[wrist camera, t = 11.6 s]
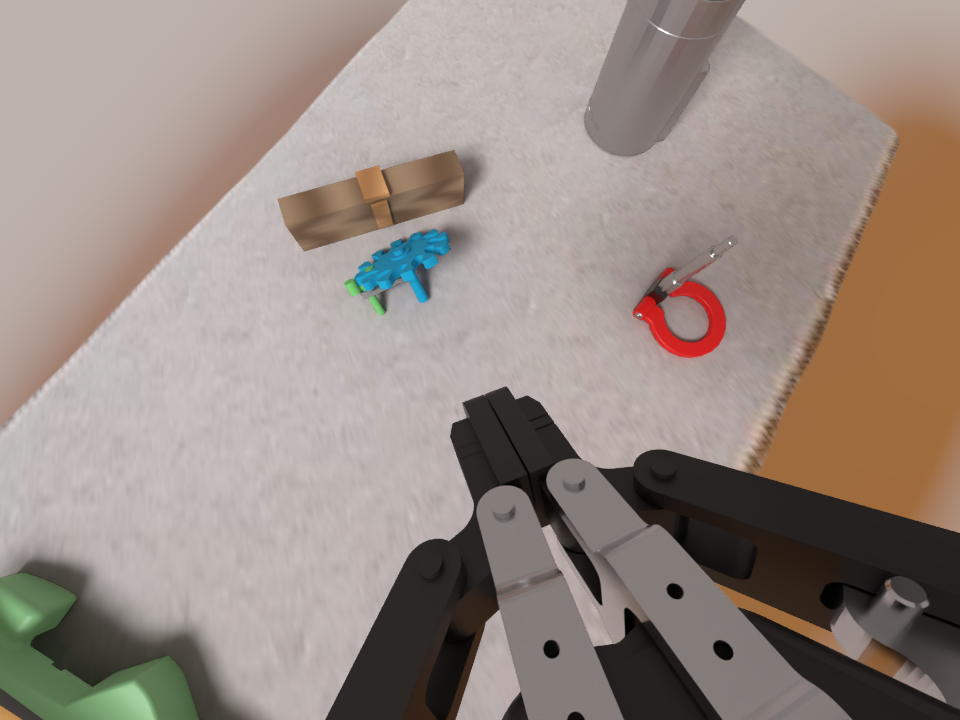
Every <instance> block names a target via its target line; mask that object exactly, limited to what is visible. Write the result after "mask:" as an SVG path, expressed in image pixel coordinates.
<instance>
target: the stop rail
mask: <svg viewBox="0 0 960 720" xmlns="http://www.w3.org/2000/svg"><path fill="white" fill-rule="evenodd" d="M355 174H356V176H357V177H355V178H351V179H348V180H344V181H341V182H337V183H333V184H330V185H326V186H323V187H319V188H315V189H312V190H308V191H305V192H301V193H298V194H294V195H290V196H287V197H283V198H280V199H278V202H279V206H280V209H281V212H282V215H283V219H284V222H285V225H286V227H287V228H288V230H289V231H290V232H291V234H292V235H293V236H294V238H295V239H296V241H297V242H298V243H299V245H300V246H301V248H302V249H303V250H304V251H307V250H310V249H314V248H317V247H320V246H324V245H327V244H331V243H334V242H337V241H341V240H344V239H347V238H351V237H354V236H357V235H361V234H364V233H367V232H371V231H374V230H378V229H381V228H384V227H388V226H391V225H394V224H398V223H401V222H404V221H408V220H411V219H414V218H418V217H421V216H424V215H428V214H431V213H435V212H438V211H441V210H445V209H448V208H451V207H455V206H458V205H461V204H463V200H464V172H463V170H462V167H461V165H460V162H459V160H458V158H457V155H456V153H455V150H452V151H448V152H445V153H441V154H438V155H434V156H431V157H427V158H423V159H420V160H416V161H413V162H409V163H405V164H402V165H398V166H395V167H391V168H387V169H384V170H380V167H379V166H375V167H372V168H368V169H364V170H361V171H357V172H355Z"/></svg>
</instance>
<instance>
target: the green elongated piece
mask: <svg viewBox="0 0 960 720" xmlns="http://www.w3.org/2000/svg"><path fill="white" fill-rule="evenodd" d="M76 599H77V598H76V596H75V594H73V593H71V592H69V591H68V590H66V589H64V588H62V587H60V586H58V585H56V584H54V583H52V582H49V581H47V580H44V579H42V578H39V577H37V576H33V575H30V574H27V573H24V572H21V573H17V574H13V575H9V576H5V577H2V578H0V720H199V718H198V715H197V711H196V708H195V705H194V702H193V699H192V695H191V692H190V689H189V686H188V683H187V681H186V678H185V676H184V674H183V672H182V670H181V669H180V667H179V666H178V665H177V663H176V662H175V661H174V660H173V659H172V658H171V657H170V656H165V657H162V658H159V659H156V660H152V661H149V662H146V663H143V664H140V665H137V666H133V667H130V668H127V669H124V670H121V671H118V672H116V673H114V674H112V675H111V676H109V677H108V678H106V679H105V680H103V681H101V682H100V683H98V684H97V685H95V686H94V687H92V686H90V685H88V684H87V683H85V682H84V681H82V680H81V679H79V678H78V677H76V676H75V675H73V674H72V673H70V672H69V671H67V670H66V669H64V670H62V671H60V670H58V669H57V668H55V667H54V666H52V665H53V663H54V661H52V660H51V659H49V658H48V657H46V656H45V655H43V654H42V653H40V652H39V651H37V650H36V649H34V648H33V647H32V646H31V641H32V640H33V638H34V637H35V636H37V635H39V634H41V633H44V632H46V631H48V630H51V629H53V628H55V627H57V626H58V624H59V623H60V621H61V620H62V619H63V617H64V616H65V615H66V613H67V612H68V611H69V609H70V608H71V606H72V605H73V604H74V602H75V601H76Z"/></svg>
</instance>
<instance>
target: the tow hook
mask: <svg viewBox="0 0 960 720" xmlns="http://www.w3.org/2000/svg"><path fill="white" fill-rule="evenodd" d="M736 244H737V239H736V238H735V237H733V236H731V237H729V238H728V239H726V240H725V241H723V242H722V243H720V244H719V245H718V246H712V247H711V248H709V249H708V250H706V251H705V252H704V253H702V254H701V255H699V256H698V257H697V258H695V259H694V260H692V261H691V262H690V263H688V264H687V265H685V266H684V267H683V268H681V269H680V270H679V271H675V270H674V269H672V268H666V269H665V271H664V272H663V273H662V275H661V276H660V277H659V279H658V280H657V281H656V282H655V283H654V284H653V285H652V286H651V288H650V289H649V290H648V292H647V293H646V294H645V296H644V298H643V300H642V301H641V302H640V304H639V305H638V306H637V308H636V309H635V310H634V312H633V315H634V316H635V317H636V318H637V319H639V320H645V321H646V322H647V323H648V324H649V326H650V330H651V332H652V334H653V336H654V338H655V339H656V340H657V341H658V343H659V344H660V345H661V346H662V347H663V348H665V349H666V350H667V351H669V352H670V353H673V354H675V355H678V356H680V357H688V358H692V357H699V356H702V355H705V354H707V353H709V352H711V351H712V350H714V349H715V348H716V347H717V346H718V345H719V343H720V342H721V340H722V338H723V336H724V333H725V329H726V318H725V314H724V310H723V308H722V306H721V304H720V302H719V300H718V299H717V298H716V296H715V295H714V294H713V293H712V292H711V291H710V290H708V289H707V288H705V287H704V286H702V285H700V284H698V283H695V282H691V281H686V280H687V279H689V278H690V277H692V276H693V275H695V274H696V273H698V272H699V271H701V270H703V269H704V268H706V267H707V266H709V265H710V264H712V263H713V262H715V261H716V260H718V259H719V258H721V256H722V253H724V252H725V251H727V250H728V249H730V248H731V247H733V246H734V245H736ZM668 295H670V296H671V297H676V296H682V295H683V296H689V297H691V298H694V299H696V300H697V301H698V302H700V303H701V304H702V306H703V307H704V308H705V310H706V312H707V314H708V318H709V328H708V331H707V333H706V335H705V336H704V338H702V339H701V340H700V341H698V342H693V343H690V342H684V341H682V340H679V339H678V338H676V337H675V336H674V335H673V334H672V333H671V332H670V331H669V330H668V328H667V326H666V323H665V319H664V311H663V310H662V309H661V308H660V307H658V306H657V304H658V303H660V302H662V301H663V300H665V299H666V298H667V296H668Z"/></svg>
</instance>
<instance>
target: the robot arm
mask: <svg viewBox="0 0 960 720" xmlns="http://www.w3.org/2000/svg"><path fill="white" fill-rule="evenodd" d="M744 1H745V0H628V1H627V4H626V6H625V9H624V12H623V14H622V17H621V20H620V22H619V25H618V27H617V30H616V33H615V35H614V38H613V41H612V43H611V46H610V49H609V51H608V54H607V56H606V59H605V62H604V64H603V67H602V70H601V72H600V75H599V77H598V80H597V83H596V85H595V88H594V91H593V93H592V96H591V98H590V100H589V104H588V107H587V109H586V112H585V119H584V121H585V127H586V130H587V132H588V134H589V136H590V137H591V139H592V140H593V141H594V142H595V143H596V144H597V145H598V146H599V147H601V148H602V149H604V150H606V151H608V152H610V153H612V154H617V155H622V156H631V155H637V154H640V153H643V152H644V151H646V150H648V149H649V148H650V147H651V146H652V145H653V144H654V143H655V142H657V141H663V140H664V139H665V137H666V136H667V134H668V133H669V131H670V130H671V128H672V126H673V125H674V123H675V122H676V120H677V119H678V117H679V116H680V114H681V113H682V111H683V110H684V108H685V107H686V105H687V104H688V102H689V101H690V99H691V98H692V96H693V95H694V93H695V92H696V90H697V89H698V87H699V86H700V84H701V83H702V81H703V80H704V78H705V76H706V75H707V73H708V72H709V69H710V65H709V62H708V58H709V57H710V55H711V53H712V52H713V50H714V49H715V47H716V46H717V44H718V42H719V41H720V39H721V38H722V36H723V35H724V33H725V31H726V30H727V28H728V27H729V25H730V24H731V22H732V20H733V19H734V17H735V16H736V14H737V12H738V11H739V9H740V8H741V6H742V4H743V3H744ZM463 407H464V411H465V414H466V417H467V418H466V419H463V420H461V421H458V422H455V423H453V424H452V429H451V435H450V438H451V440H452V443H453V446H454V449H455V452H456V455H457V458H458V460H459V463H460V466H461V469H462V472H463V475H464V477H465V480H466V483H467V486H468V488H469V491H470V494H471V497H472V499H473V502H474V511H473V515H472V517H471V519H470V521H469V523H468V524H467V526H466V527H465V528H464V529H463V530H462V531H461V532H460V533H458V534H457V535H456V536H455V537H454V538H452V539H451V540H450V541H447V540H444V539H432V540H428V541H425V542H423V543H422V544H420V545H419V546H417V547H416V548H415V549H414V550H413V551H412V552H411V553H410V554H409V556H408V558H407V559H406V561H405V563H404V565H403V567H402V569H401V571H400V573H399V575H398V577H397V579H396V581H395V583H394V585H393V587H392V589H391V591H390V593H389V595H388V597H387V599H386V601H385V603H384V605H383V607H382V609H381V611H380V613H379V615H378V617H377V619H376V621H375V623H374V624H373V626H372V628H371V630H370V632H369V634H368V636H367V638H366V640H365V642H364V644H363V646H362V648H361V650H360V652H359V654H358V656H357V658H356V660H355V662H354V664H353V666H352V668H351V670H350V672H349V674H348V676H347V678H346V680H345V682H344V684H343V686H342V688H341V690H340V692H339V694H338V696H337V698H336V700H335V702H334V704H333V706H332V708H331V710H330V712H329V714H328V715H327V717H326V719H325V720H456V716H457V713H458V710H459V707H460V704H461V701H462V697H463V694H464V691H465V688H466V685H467V682H468V679H469V675H470V672H471V669H472V666H473V663H474V660H475V657H476V653H477V650H478V647H479V644H480V641H481V638H482V634H483V631H484V627H485V622H486V621H487V620H488V619H489V618H491V617H492V616H493V615H494V614H495V613H496V612H497V611H498V610H499V609H500V612H501V616H502V620H503V624H504V628H505V632H506V636H507V639H508V643H509V647H510V651H511V655H512V659H513V663H514V666H515V670H516V674H517V678H518V682H519V686H520V689H521V692H520V693H519V694H518V696H517V697H516V698H515V699H514V700H513V702H512V703H511V705H510V706H509V708H508V710H507V711H506V713H505V715H504V717H503V719H502V720H960V533H957V532H954V531H950V530H947V529H943V528H940V527H936V526H933V525H929V524H926V523H922V522H919V521H915V520H912V519H908V518H905V517H901V516H898V515H894V514H891V513H887V512H883V511H880V510H876V509H872V508H869V507H866V506H862V505H859V504H855V503H852V502H848V501H845V500H841V499H838V498H834V497H831V496H827V495H823V494H820V493H816V492H813V491H809V490H806V489H802V488H799V487H795V486H792V485H788V484H785V483H781V482H778V481H774V480H771V479H767V478H764V477H760V476H756V475H753V474H749V473H746V472H742V471H739V470H735V469H732V468H728V467H725V466H721V465H718V464H714V463H711V462H707V461H704V460H700V459H696V458H693V457H689V456H686V455H682V454H679V453H675V452H672V451H668V450H650V451H647V452H645V453H643V454H641V455H640V456H639V457H638V458H637V459H636V460H635V462H634V467H624V468H615V469H603V468H598V467H595V466H594V465H592V464H591V463H589V462H587V461H585V460H582V459H581V458H580V457H579V456H578V455H577V453H576V452H575V450H574V449H573V448H572V446H571V445H570V443H569V442H568V441H567V439H566V438H565V437H564V435H563V434H562V432H561V431H560V430H559V428H558V427H557V425H556V424H554V421H553V420H552V419H551V417H550V416H549V415H548V413H547V412H546V410H545V409H544V408H543V406H542V405H541V403H540V402H538V401H536V400H534V399H533V398H531V397H529V396H524V397H522V398H519V399H516V400H515V398H514V397H513V395H512V393H511V392H510V390H509V389H508V388H507V387H503V388H500V389H498V390H495V391H492V392H489V393H487V394H485V396H484V395H482V396H479V397H476V398H473V399H471V400H468V401H465V402H463ZM549 524H550V525H551V527H552V529H553V531H554V532H555V534H556V537H557V542H558V547H559V549H560V551H561V553H562V554H563V556H564V558H565V559H566V561H567V562H568V564H569V566H570V567H571V569H572V570H573V572H574V574H575V575H576V577H577V578H578V580H579V582H580V583H581V585H582V586H583V588H584V590H585V591H586V593H587V595H588V596H589V598H590V599H591V601H592V603H593V604H594V606H595V607H596V609H597V611H598V613H599V614H600V616H601V619H602V621H603V623H604V626H605V629H606V631H607V633H608V635H609V637H610V639H611V641H612V643H613V644H610V645H603V646H596V647H593V644H592V642H591V639H590V637H589V635H588V632H587V630H586V627H585V625H584V623H583V620H582V618H581V615H580V613H579V610H578V608H577V606H576V603H575V601H574V598H573V596H572V594H571V591H570V589H569V586H568V584H567V582H566V580H565V577H564V575H563V573H562V572H561V571H559V569H558V567H557V565H556V563H555V560H554V558H553V556H552V553H551V551H550V548H549V546H548V543H547V541H546V538H545V536H544V533H543V531H542V529H541V528H542V527H545V526H547V525H549ZM714 582H716V583H718V584H720V585H723V586H725V587H727V588H730V589H732V590H734V591H737V592H739V593H741V594H744V595H746V596H749V597H751V598H754V599H755V600H758V601H760V602H763V603H765V604H767V605H770V606H772V607H774V608H777V609H779V610H782V611H784V612H786V613H788V614H791V615H793V616H795V617H798V618H800V619H803V620H805V621H807V622H809V623H812V624H814V625H816V626H819V627H821V628H824V629H826V630H828V631H830V632H833V634H834V637H835V638H836V640H837V641H838V643H839V644H840V646H841V647H842V648H843V649H844V650H845V652H846V654H847V656H845V655H843V654H841V653H839V652H837V651H835V650H833V649H831V648H829V647H827V646H825V645H822V644H820V643H818V642H816V641H814V640H812V639H810V638H808V637H805V636H803V635H801V634H799V633H797V632H795V631H793V630H791V629H788V628H787V627H784V626H782V625H780V624H778V623H776V622H774V621H772V620H770V619H767V618H765V617H763V616H761V615H759V614H756V613H754V612H751V611H748V610H745V609H742V608H739V607H736V606H735V605H734V604H733V603H732V601H731V600H730V599H729V598H728V597H727V596H726V595H725V594H724V593H723V592H722V591H721V589H720V588H719V587H718V586H717V585H716V584H715V583H714Z"/></svg>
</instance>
